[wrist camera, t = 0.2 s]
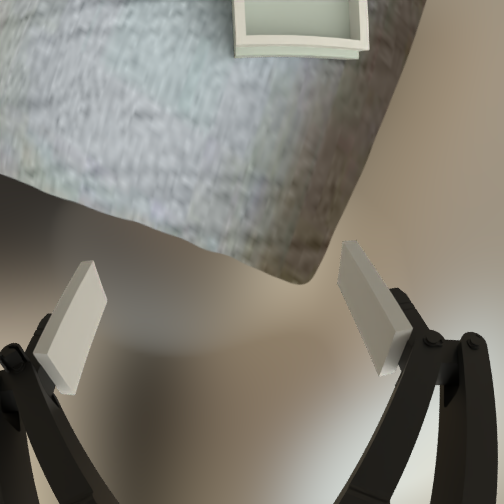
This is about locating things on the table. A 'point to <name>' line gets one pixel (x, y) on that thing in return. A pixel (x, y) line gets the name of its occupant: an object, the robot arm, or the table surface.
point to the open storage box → (300, 28)
